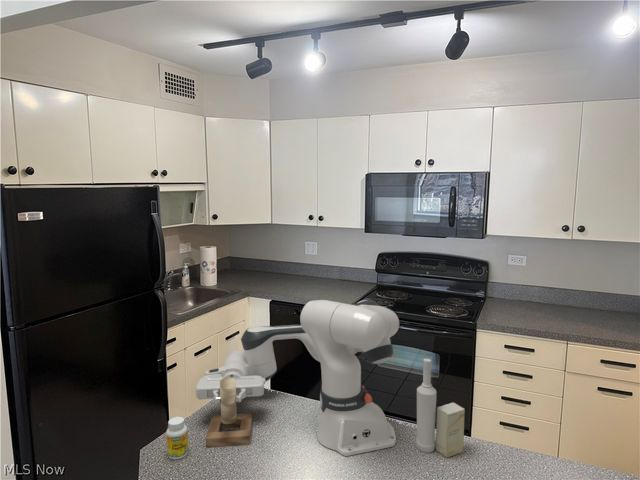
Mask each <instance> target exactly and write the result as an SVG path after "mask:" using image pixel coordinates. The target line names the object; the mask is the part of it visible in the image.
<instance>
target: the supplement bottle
mask: <svg viewBox="0 0 640 480" xmlns="http://www.w3.org/2000/svg"><path fill="white" fill-rule="evenodd" d="M167 424H168V425H167V429H166V431H165V432H166V434H165V435H166V447H167V457H168V458H169V459H171V460H180V459H182V458H184V457H186V456H187V455H188V453H189V452H190V451H189V435H188V434H189V433H188V427H187V425H186V424H185V418H184V417H182V416H174V417H172V418H170V419H169V420H168V422H167Z"/></svg>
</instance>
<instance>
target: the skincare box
mask: <svg viewBox="0 0 640 480" xmlns="http://www.w3.org/2000/svg"><path fill="white" fill-rule="evenodd" d="M465 413H466V411H465V408H464V407H462V406H460V405H459V404H457V403H455V402H450V403H446V404H444V405H440V406H438V407H437V406H436V422H435V450H436V451H438V452H439V453H440V454H441V455H442V456H444V457H445V458H449V457H453V456H455V455H458V454H460V453H462V452H464V443H465V442H464V439H465V436H464V435H465Z"/></svg>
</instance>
